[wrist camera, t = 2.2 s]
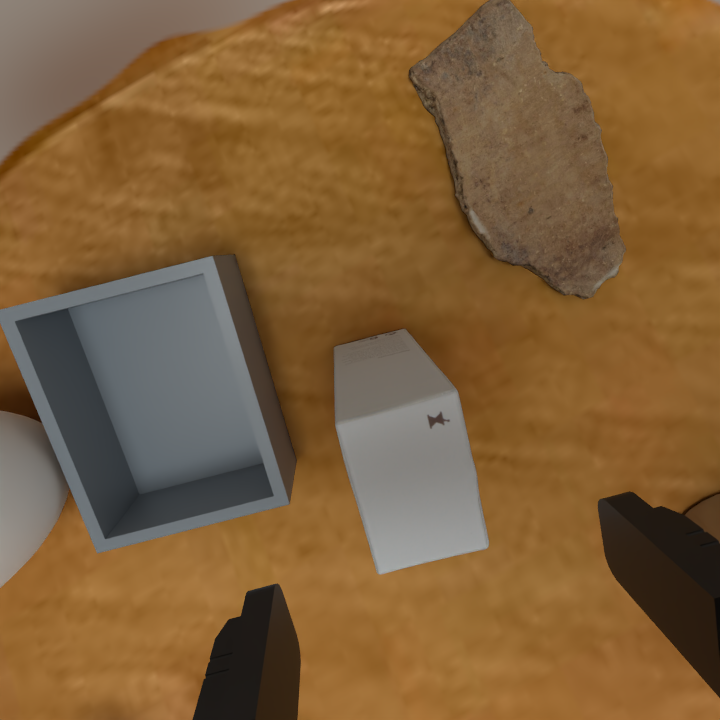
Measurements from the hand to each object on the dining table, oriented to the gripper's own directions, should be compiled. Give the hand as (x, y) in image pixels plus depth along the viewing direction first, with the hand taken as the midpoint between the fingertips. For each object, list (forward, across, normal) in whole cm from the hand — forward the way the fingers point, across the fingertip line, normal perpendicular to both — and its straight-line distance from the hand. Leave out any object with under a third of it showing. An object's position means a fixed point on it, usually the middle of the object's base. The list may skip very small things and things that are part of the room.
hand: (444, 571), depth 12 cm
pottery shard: (+17, -10, -9) cm, 22 cm away
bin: (+16, +10, -3) cm, 20 cm away
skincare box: (+16, 0, 0) cm, 17 cm away
